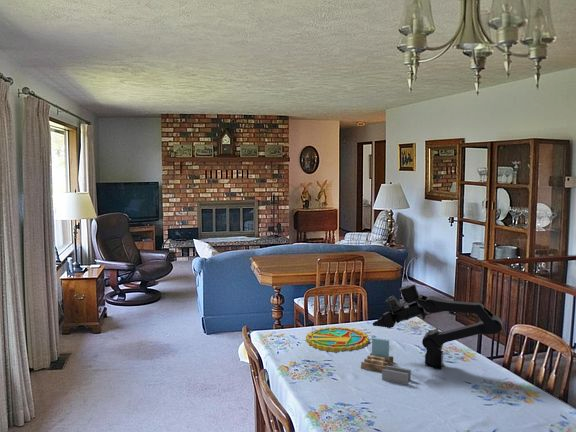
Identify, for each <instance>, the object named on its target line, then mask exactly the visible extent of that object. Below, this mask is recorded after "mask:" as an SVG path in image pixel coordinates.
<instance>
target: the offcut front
mask: <svg viewBox="0 0 576 432" xmlns="http://www.w3.org/2000/svg"><path fill="white" fill-rule="evenodd" d="M369 356H370V355H369ZM371 359H375V360H381V361H384V362H385V358H384V357H378V356H373V355H371V356H370V360H371Z"/></svg>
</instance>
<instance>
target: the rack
mask: <svg viewBox="0 0 576 432" xmlns="http://www.w3.org/2000/svg"><path fill="white" fill-rule="evenodd" d="M371 355H372V352H370V353H369V355H367V357H366V358H364V360H363V361H361V362H360V367H359V369H363V370H369V371H373V372H379V373H382V369H385V366H386V365H388V366H393V365H394V364H395V362H394V356H393V355H389V359H385V362H384V365H377V364H372V363H371V360H370V356H371Z"/></svg>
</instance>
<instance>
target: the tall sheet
mask: <svg viewBox="0 0 576 432" xmlns="http://www.w3.org/2000/svg"><path fill="white" fill-rule="evenodd" d="M371 353H372V355H373V356H378V357H384V358H385V359H389V356H390V339H386V338H379V337H372V338H371Z"/></svg>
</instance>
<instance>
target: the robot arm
mask: <svg viewBox="0 0 576 432" xmlns="http://www.w3.org/2000/svg"><path fill="white" fill-rule="evenodd" d="M399 291H400V294H401V297H402V299H403V301H404V302H405V303H406V304H401V302H400V301H399V300H398V299H397V298H396V296H394V295H393V294H392V295H391V296H389V297H388V298H387V299H385V303H386V304H387V305H389V307H390V308H389V311H387V312H385V313H383V314H382V316H381V317H379V318H378V319H377V320H376V321H374V322H372V326H373V327H380V328H387V329H391V328H394V327H395V326H396V325H397V324H399V323H401V322H404V321H408V320H410V319H414V318H416V317H419V316H421V317H422V319H423V320H425V319H426V317H427V315H428V314H434V313H435V314H436V313H443V312H455V313H464V314H465V313H466V314H475V315H476V316H477V317H478V318H479V319H480V321H478V322H476V323H472V324H468V325H464V326H461V327H457V328H452V329H449V330H445V331H439V328H435V329H432V330H431V329H428V331H427V332H426V333H424V336H423V338H422V341H421V343H422V346H423V348H424V349H426V353H425V354H424V364H425V367H427V368H428V367H430V368H432V369H435V370H441V369H443V366H444V365H445V363H444V350H443V346H444V344H446V343H449V342H453V341H457V340H461V339H465V338H469V337H473V336H477V335H487V336H488V335H497V334H500V333H501V331H502V329H503V323H502V322H503V321H502V319H501V318H500V317H499V316H497V315H494V314H493V313H492V311H490V310H489V309H487V307H485V306H484V304H482V303H481V302H469V301H457V300H456V301H455V300H447V299H445V298H444V299H443V298H441V297H438V296H433V295H430V296H426V295H424V294H420V293H419V291H418V289H417V286H416V284H415V283H414V284H410V285H409V284H407V285H405V286H402V287H400V288H399Z"/></svg>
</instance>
